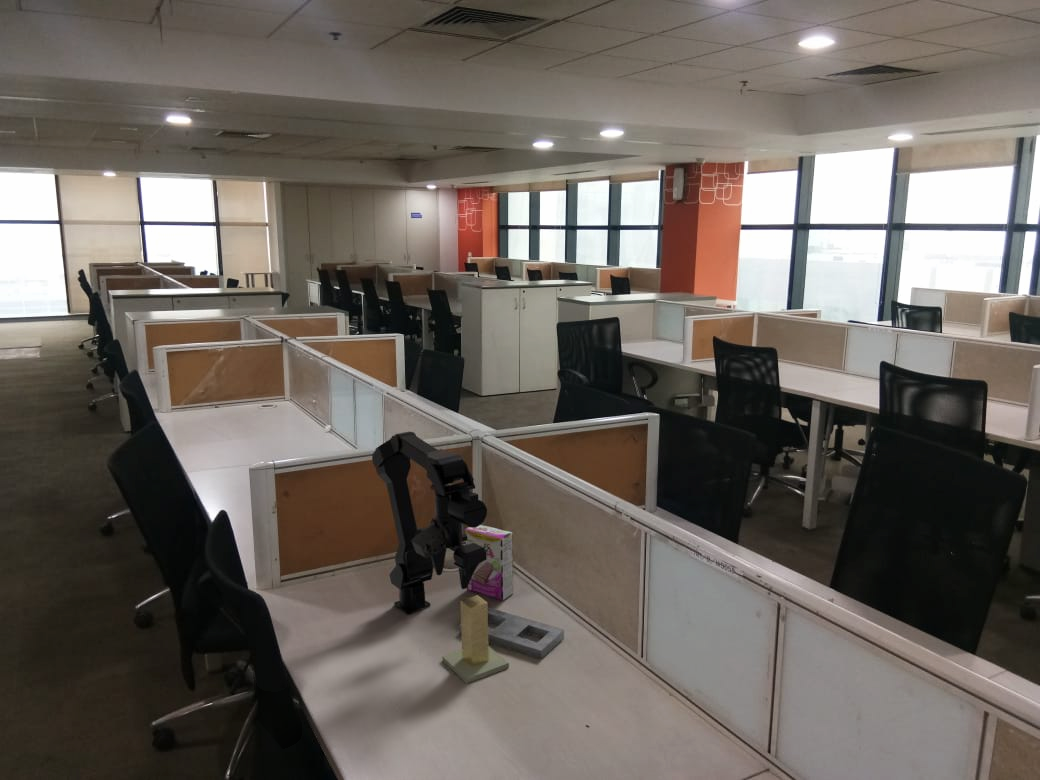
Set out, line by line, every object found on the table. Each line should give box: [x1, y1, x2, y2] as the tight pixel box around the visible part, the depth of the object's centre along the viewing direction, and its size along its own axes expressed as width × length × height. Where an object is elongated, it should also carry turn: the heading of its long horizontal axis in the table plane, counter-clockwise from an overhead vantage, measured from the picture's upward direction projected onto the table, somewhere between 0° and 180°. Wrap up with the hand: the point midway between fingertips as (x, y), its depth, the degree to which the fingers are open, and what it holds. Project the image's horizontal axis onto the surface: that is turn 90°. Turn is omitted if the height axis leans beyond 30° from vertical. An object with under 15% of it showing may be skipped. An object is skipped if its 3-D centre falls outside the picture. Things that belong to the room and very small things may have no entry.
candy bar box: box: [464, 524, 514, 602], centre depth 189 cm, size 11×5×16 cm, turn 58°
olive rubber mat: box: [442, 645, 510, 684], centre depth 159 cm, size 10×10×1 cm
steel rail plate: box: [458, 607, 565, 660], centre depth 170 cm, size 21×10×2 cm, turn 59°
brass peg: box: [459, 594, 489, 667], centre depth 158 cm, size 4×4×13 cm
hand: (451, 581), depth 167 cm, fingers open, 9 cm apart
